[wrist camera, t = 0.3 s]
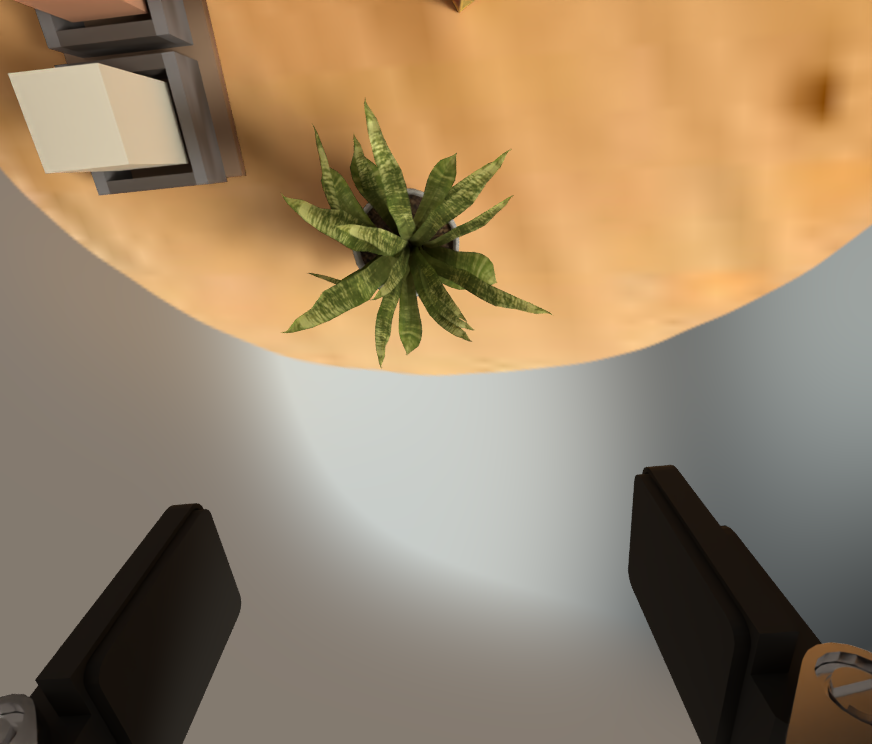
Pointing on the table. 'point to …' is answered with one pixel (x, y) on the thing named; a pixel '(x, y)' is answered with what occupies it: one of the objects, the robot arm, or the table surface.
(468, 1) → the candy box
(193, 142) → the button board
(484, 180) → the house plant
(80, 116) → the cream button
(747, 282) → the table surface
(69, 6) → the terracotta button
